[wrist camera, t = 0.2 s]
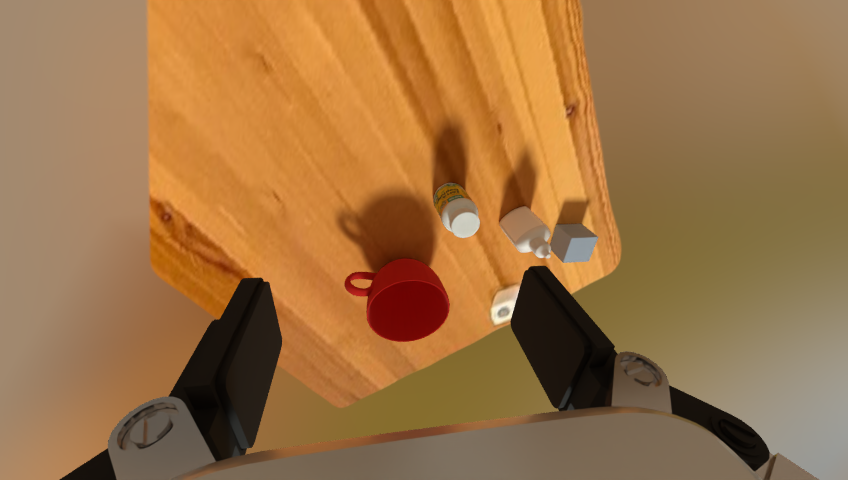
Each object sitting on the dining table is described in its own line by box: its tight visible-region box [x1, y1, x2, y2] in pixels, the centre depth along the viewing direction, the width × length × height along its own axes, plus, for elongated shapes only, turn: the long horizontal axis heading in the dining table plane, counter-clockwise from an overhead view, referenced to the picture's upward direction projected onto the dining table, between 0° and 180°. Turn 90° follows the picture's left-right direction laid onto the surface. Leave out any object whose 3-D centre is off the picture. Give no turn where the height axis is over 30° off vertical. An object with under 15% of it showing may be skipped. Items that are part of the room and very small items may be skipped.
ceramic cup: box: [345, 258, 450, 342], centre depth 52 cm, size 13×17×10 cm
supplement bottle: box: [433, 183, 480, 238], centre depth 46 cm, size 5×5×10 cm
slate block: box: [550, 224, 598, 263], centre depth 56 cm, size 5×5×5 cm
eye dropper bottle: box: [499, 206, 551, 259], centre depth 49 cm, size 4×6×12 cm
